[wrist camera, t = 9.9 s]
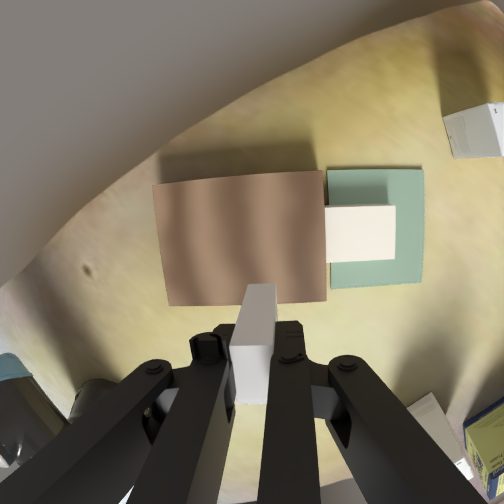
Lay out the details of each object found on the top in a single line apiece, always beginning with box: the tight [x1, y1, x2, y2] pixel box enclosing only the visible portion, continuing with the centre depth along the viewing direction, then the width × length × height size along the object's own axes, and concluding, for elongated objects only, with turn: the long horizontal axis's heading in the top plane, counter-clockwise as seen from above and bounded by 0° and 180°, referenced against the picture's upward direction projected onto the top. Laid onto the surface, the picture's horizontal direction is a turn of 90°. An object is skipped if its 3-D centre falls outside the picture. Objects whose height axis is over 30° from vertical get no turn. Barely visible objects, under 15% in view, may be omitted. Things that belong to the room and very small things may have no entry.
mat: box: [327, 169, 425, 289], centre depth 35 cm, size 12×14×1 cm
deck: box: [152, 170, 326, 306], centre depth 35 cm, size 18×14×4 cm
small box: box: [443, 102, 504, 159], centre depth 26 cm, size 8×6×10 cm
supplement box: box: [406, 392, 474, 480], centre depth 34 cm, size 9×9×15 cm
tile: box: [324, 203, 396, 263], centre depth 34 cm, size 8×6×2 cm
